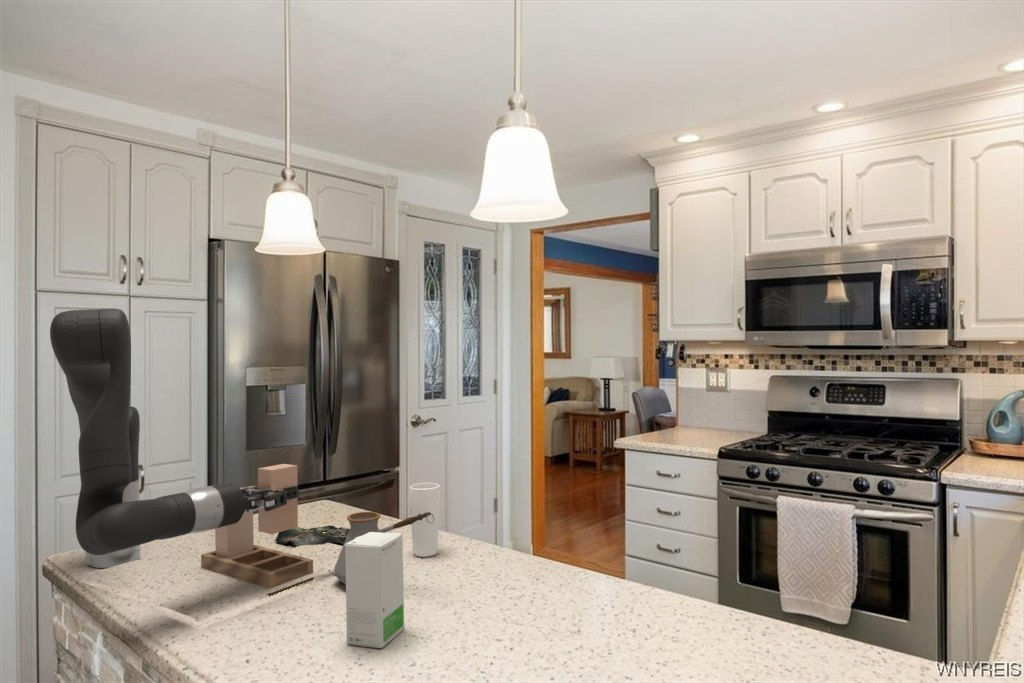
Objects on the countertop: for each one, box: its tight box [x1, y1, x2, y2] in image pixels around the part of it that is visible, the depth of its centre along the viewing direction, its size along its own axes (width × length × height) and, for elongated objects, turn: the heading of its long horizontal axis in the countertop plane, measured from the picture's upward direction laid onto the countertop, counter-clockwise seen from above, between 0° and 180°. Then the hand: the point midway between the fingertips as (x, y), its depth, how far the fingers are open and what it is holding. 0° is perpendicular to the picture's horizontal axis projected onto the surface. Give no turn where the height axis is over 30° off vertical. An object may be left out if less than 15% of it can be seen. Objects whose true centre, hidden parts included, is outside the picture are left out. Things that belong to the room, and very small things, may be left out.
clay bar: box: [257, 463, 299, 535], centre depth 130 cm, size 4×6×12 cm, turn 146°
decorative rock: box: [274, 524, 350, 548], centre depth 158 cm, size 19×6×15 cm
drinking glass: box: [408, 482, 441, 558], centre depth 148 cm, size 7×7×15 cm
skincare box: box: [345, 532, 405, 649], centre depth 107 cm, size 8×7×16 cm
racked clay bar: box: [214, 511, 255, 559], centre depth 138 cm, size 4×6×12 cm, turn 146°
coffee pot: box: [333, 511, 434, 586], centre depth 129 cm, size 21×12×15 cm, turn 65°
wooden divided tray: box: [200, 544, 314, 597], centre depth 134 cm, size 22×10×4 cm, turn 56°
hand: (289, 490), depth 133 cm, fingers closed on clay bar, 4 cm apart
